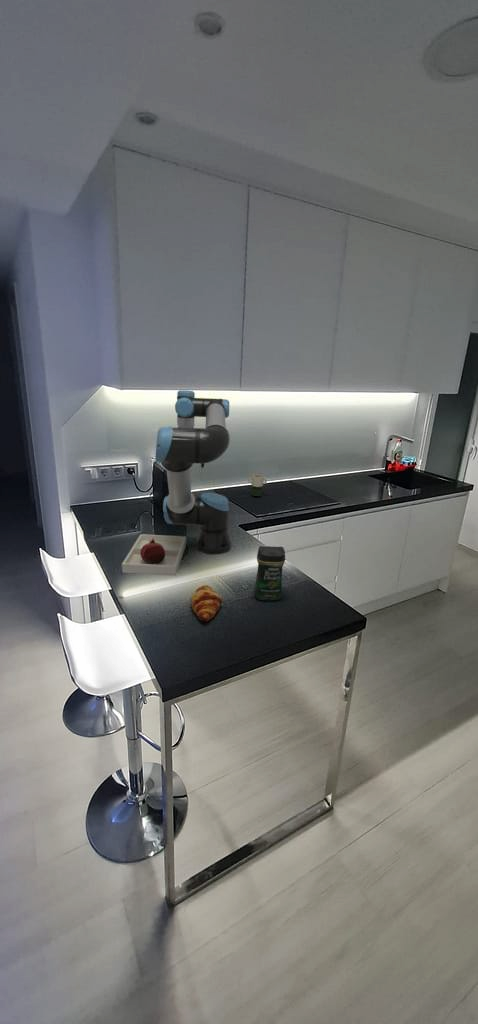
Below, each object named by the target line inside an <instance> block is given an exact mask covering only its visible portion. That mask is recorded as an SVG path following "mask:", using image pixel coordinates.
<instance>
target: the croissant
mask: <svg viewBox="0 0 478 1024" xmlns="http://www.w3.org/2000/svg"><path fill="white" fill-rule="evenodd" d="M190 603H191V608H192V610H193V612H194V613H195V615H196V616H197V618H198V619H199V620H200V621H202V622H208V621H210V620H211V619H212V618H214V617H215V615H216V614H217V612H218V611H219V609H220V607H221V605H222V603H223V598H222V596H221V595H220V594H219V593H217V591H215V590H214V589H213V588H212V587H211V586H209V585H208V584H204V585H202V586H199V587H198V588H196V589H195V592H194V593H193V594H192V596H191V598H190Z"/></svg>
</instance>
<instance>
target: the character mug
mask: <svg viewBox="0 0 478 1024" xmlns="http://www.w3.org/2000/svg"><path fill="white" fill-rule="evenodd" d="M267 482H268V481H267V478H265V475H263V474H261V473H260V474H259V473H253V474H252V475H251V477H249V478H248V482H247V483H248V484H251V486H252V488H251V489H252V490H251V494H252V495H253V496H252V495H251V496H252V497H254V496H260V497H262V495H263V491H262V487H263V486H264V485H266V484H267Z"/></svg>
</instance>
